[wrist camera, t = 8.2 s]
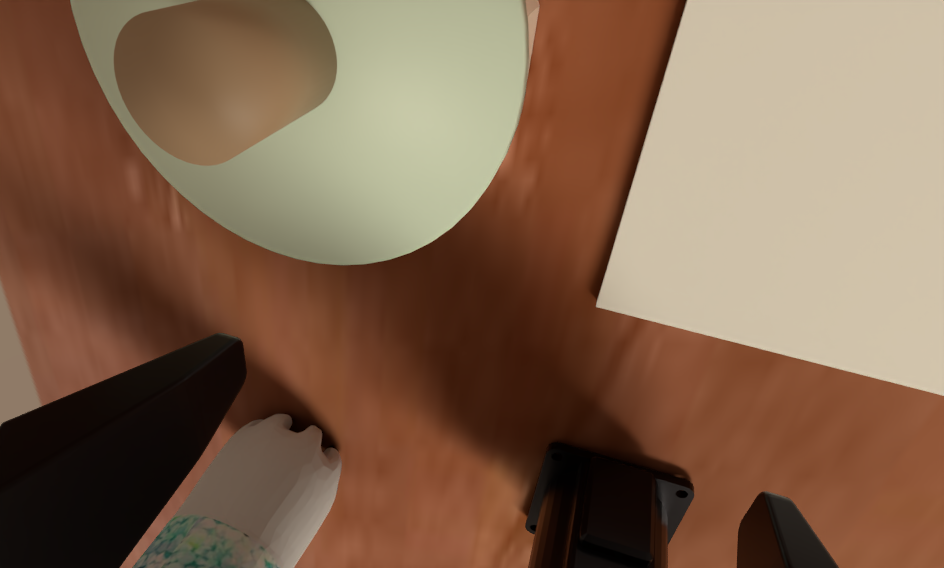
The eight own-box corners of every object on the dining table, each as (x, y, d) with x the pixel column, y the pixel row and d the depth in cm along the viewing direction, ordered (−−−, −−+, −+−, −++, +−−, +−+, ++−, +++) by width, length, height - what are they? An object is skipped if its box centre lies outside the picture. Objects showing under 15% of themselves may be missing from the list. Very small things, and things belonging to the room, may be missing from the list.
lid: (491, 294, 19) (446, 396, 15) (139, 204, 21) (20, 273, 17) (581, -238, 12) (537, -306, 8) (24, -300, 14) (-231, -377, 10)
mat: (1005, 404, 20) (1011, 412, 20) (596, 301, 22) (595, 306, 22) (1438, -74, 12) (1460, -73, 12) (735, -164, 14) (736, -165, 14)
